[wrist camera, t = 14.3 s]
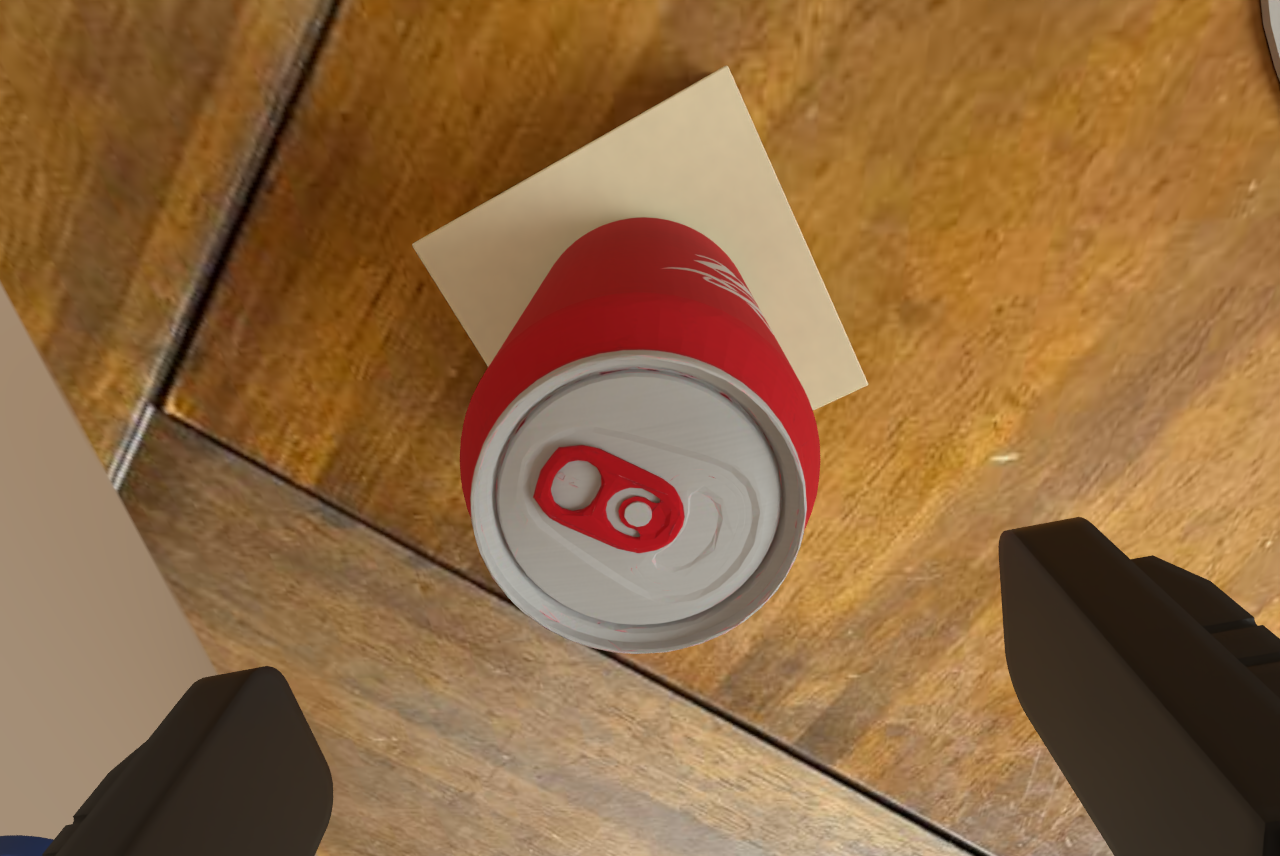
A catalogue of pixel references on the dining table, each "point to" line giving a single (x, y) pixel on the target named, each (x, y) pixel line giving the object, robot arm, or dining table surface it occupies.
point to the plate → (1272, 29)
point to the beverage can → (640, 446)
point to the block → (654, 188)
